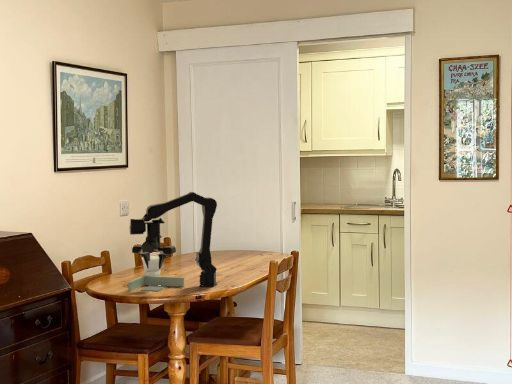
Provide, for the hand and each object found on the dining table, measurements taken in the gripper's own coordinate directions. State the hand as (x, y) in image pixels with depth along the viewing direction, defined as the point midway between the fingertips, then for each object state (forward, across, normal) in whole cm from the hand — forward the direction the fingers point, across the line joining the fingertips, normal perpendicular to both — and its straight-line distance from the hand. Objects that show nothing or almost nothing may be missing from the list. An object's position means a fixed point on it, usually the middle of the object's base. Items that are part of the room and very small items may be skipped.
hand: (154, 268), depth 298 cm
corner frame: (+9, +1, 0) cm, 9 cm away
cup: (+9, -8, +16) cm, 20 cm away
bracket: (+1, 0, -2) cm, 3 cm away
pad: (+9, 0, 0) cm, 9 cm away
